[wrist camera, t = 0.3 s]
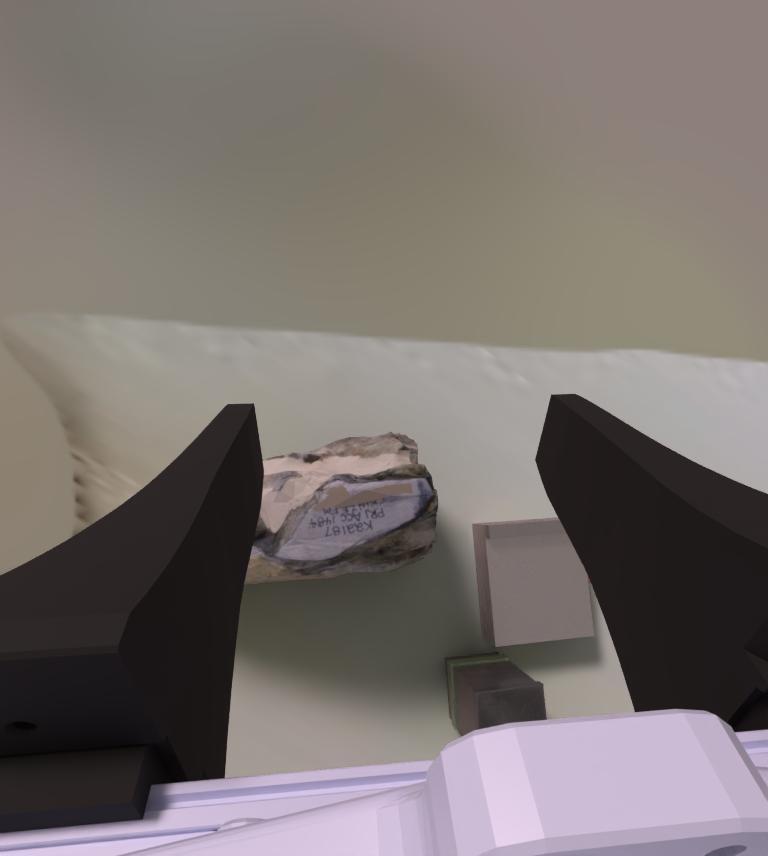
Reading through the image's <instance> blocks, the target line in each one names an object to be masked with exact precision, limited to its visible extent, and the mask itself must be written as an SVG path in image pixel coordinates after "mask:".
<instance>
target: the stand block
mask: <svg viewBox="0 0 768 856" xmlns="http://www.w3.org/2000/svg"><path fill="white" fill-rule="evenodd" d="M472 525H473V537H474V548H475V559H476V570H477V582H478V593H479V604H480V615H481V627H482V637H483V638H484V639H486V640H487V641H488V642H490V643H491V644H492V645H494V646H495V647H500V646H509V645H518V644H527V643H536V642H545V641H554V640H563V639H572V638H581V637H590V636H595V635H594V627H593V619H592V610H591V602H590V594H589V585H588V584H589V577H588V575H587V573H586V571H585V568H584V566H583V564H582V562H581V560H580V559H579V557H578V555H577V553H576V551H575V549H574V547H573V545H572V543H571V541H570V539H569V537H568V535H567V533H566V531H565V529H564V528H563V526H562V524H561V522H560V520H559V518H546V519H533V520H519V521H505V522H492V523H478V524H472Z"/></svg>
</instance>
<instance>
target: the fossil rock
mask: <svg viewBox="0 0 768 856" xmlns="http://www.w3.org/2000/svg"><path fill="white" fill-rule="evenodd" d="M417 454H418V448H417V444H416V443H415V441H414V440H412V439H409V438H408V437H407V436H406V435H401V434H400V433H399V434H393V433H392V432H389V433H387V434H385V435H379V436H377V437H349V438H345V439H341V440H338V441H335V442H333V443H330V444H328V445H326V446H324V447H321V448H319V449H317V450H315V451H311V452H307V453H303V454H301V453H291V454H287V455H282V456H276V457H272V458H269V459H266V460H263V467H264V479H263V492H262V502H261V510H260V514H259V519H258V524H257V528H256V533H255V537H254V542H253V546H252V551H251V555H250V560H249V564H248V569H247V573H246V578H245V582H244V585H246V584H260V583H267V582H274V581H280V582H286V581H291V580H307V579H324V578H336V577H337V576H339V575H344V574H347V573H356V572H385V571H391V570H396V569H398V568H400V567H402V566H404V565H407V564H411V563H413V562H416V561H418V560H420V559H423V558H424V557H423V555H426V554H428V553H430V552H431V550H432V543H434V542H436V535H435V526H436V512H437V509H438V496H437V491H436V490H435V489H434V487H433V482H432V477H431V475H430V473H429V472H428V470H427V469H426V467H425V465H423V464H418V457H417Z"/></svg>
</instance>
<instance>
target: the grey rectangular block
mask: <svg viewBox="0 0 768 856" xmlns="http://www.w3.org/2000/svg"><path fill="white" fill-rule="evenodd" d="M445 663H446V676H447V689H448V702H449V715H450V719H451V720H452V725H453V727H454V728H455V730H458V731H459V732H460V734H461V735H462V736H464V735H466V734H468V733H470V732H472V731H474V730H479V729H484V728H488V727H493V726H498V725H503V724H508V723H515V722H527V721H539V720H547V719H546V709H545V699H544V690H543V684H542V683H541V682H539V681H537V682H536V681H534V680H533V679H532V678H531V677H529V676H528V675H527V674H525V673H524V672H523V671H522V670H520V669H519V668H518V667H516V666H515V665H514V664H513V663H511V662H510V661H509V659H508V657H507V656H505V655H504V654H502V655H501V654H500V653H498V652H496V653H487V654H478V655H469V656H460V657H451V658H445Z"/></svg>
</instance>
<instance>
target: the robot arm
mask: <svg viewBox="0 0 768 856" xmlns="http://www.w3.org/2000/svg"><path fill="white" fill-rule="evenodd" d="M535 461H536V464H537V467H538V470H539V473H540V476H541V480H542V482H543V485H544V488H545V491H546V494H547V496H548V498H549V500H550V502H551V504H552V506H553V508H554V510H555V512H556V514H557V516H558V518H559V520H560V522H561V524H562V526H563V528H564V529H565V531H566V533H567V535H568V537H569V539H570V541H571V543H572V545H573V547H574V549H575V551H576V553H577V555H578V557H579V559H580V560H581V562H582V564H583V566H584V568H585V571H586V573H587V575H588V577H589V579H590V581H591V584H592V586H593V589H594V592H595V594H596V597H597V599H598V602H599V605H600V607H601V610H602V613H603V615H604V618H605V621H606V623H607V626H608V629H609V632H610V635H611V638H612V641H613V644H614V647H615V649H616V652H617V655H618V658H619V661H620V664H621V668H622V671H623V674H624V677H625V681H626V684H627V687H628V690H629V693H630V697H631V700H632V703H633V707H634V710H635V712H633V713H621V714H609V715H598V716H586V717H574V718H562V719H551V720H539V721H527V722H515V723H508V724H503V725H498V726H493V727H488V728H484V729H479V730H474V731H472V732H470V733H468V734H466V735H464V736H462V737H460V738H458V739H456V740H454V741H452V742H450V743H448V744H446V745H445V746H444V748H443V749H442V751H441V752H440V753H439V755H438V756H437V757H436V759H434V760H423V761H412V762H401V763H390V764H379V765H368V766H356V767H345V768H334V769H323V770H312V771H301V772H290V773H279V774H268V775H257V776H246V777H234V778H225V765H226V750H227V736H228V724H229V712H230V700H231V689H232V678H233V668H234V658H235V648H236V639H237V630H238V621H239V612H240V604H241V598H242V592H243V587H244V582H245V578H246V573H247V569H248V564H249V560H250V555H251V551H252V546H253V542H254V537H255V533H256V528H257V524H258V519H259V514H260V510H261V502H262V492H263V479H264V467H263V460H262V453H261V447H260V440H259V434H258V427H257V420H256V414H255V407H254V404H227V405H226V406H225V407H224V408H223V410H222V411H221V412H220V413H219V414H218V415H217V416H216V417H215V418H214V419H213V420H212V421H211V423H210V424H209V425H208V426H207V427H206V428H205V429H204V430H203V431H202V432H201V434H200V435H199V436H198V437H197V438H196V439H195V440H194V441H193V442H192V443H191V444H190V445H189V446H188V447H187V448H186V449H185V450H184V451H183V452H182V453H181V454H180V455H179V456H178V457H177V458H176V459H175V460H174V461H173V462H172V463H171V464H170V465H169V466H168V467H167V468H166V469H165V470H163V471H162V472H161V473H160V474H159V475H158V476H157V477H156V478H155V479H154V480H152V481H151V482H150V483H149V484H148V485H146V486H145V487H144V488H143V489H141V490H140V491H139V492H138V493H136V494H135V495H134V496H132V497H131V498H130V499H128V500H127V501H126V502H124V503H123V504H122V505H120V506H119V507H118V508H116V509H115V510H113V511H112V512H110V513H109V514H107V515H106V516H104V517H103V518H101V519H100V520H98V521H97V522H95V523H94V524H92V525H90V526H89V527H87V528H86V529H84V530H83V531H81V532H80V533H78V534H77V535H75V536H73V537H72V538H70V539H68V540H67V541H65V542H63V543H61V544H60V545H58V546H56V547H54V548H53V549H51V550H49V551H47V552H45V553H44V554H42V555H40V556H38V557H36V558H34V559H32V560H30V561H29V562H27V563H25V564H23V565H21V566H19V567H17V568H15V569H13V570H11V571H9V572H7V573H5V574H3V575H0V856H768V494H766V493H764V492H761V491H758V490H756V489H753V488H751V487H748V486H746V485H744V484H741V483H739V482H736V481H734V480H732V479H730V478H727V477H725V476H723V475H721V474H719V473H716V472H714V471H712V470H710V469H708V468H706V467H703V466H701V465H699V464H697V463H695V462H693V461H691V460H689V459H688V458H686V457H684V456H682V455H680V454H678V453H676V452H675V451H673V450H671V449H669V448H667V447H665V446H663V445H662V444H660V443H658V442H657V441H655V440H653V439H651V438H650V437H648V436H646V435H644V434H643V433H641V432H639V431H638V430H636V429H634V428H633V427H631V426H630V425H628V424H626V423H625V422H623V421H621V420H620V419H618V418H616V417H615V416H613V415H612V414H610V413H608V412H607V411H605V410H603V409H602V408H600V407H598V406H597V405H595V404H593V403H592V402H590V401H588V400H586V399H584V398H583V397H581V396H578V395H576V394H559V395H551V398H550V402H549V406H548V411H547V415H546V419H545V423H544V427H543V431H542V435H541V439H540V443H539V447H538V451H537V455H536V459H535Z"/></svg>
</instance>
